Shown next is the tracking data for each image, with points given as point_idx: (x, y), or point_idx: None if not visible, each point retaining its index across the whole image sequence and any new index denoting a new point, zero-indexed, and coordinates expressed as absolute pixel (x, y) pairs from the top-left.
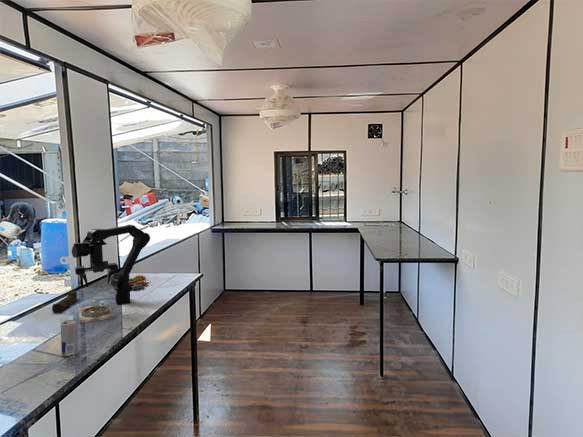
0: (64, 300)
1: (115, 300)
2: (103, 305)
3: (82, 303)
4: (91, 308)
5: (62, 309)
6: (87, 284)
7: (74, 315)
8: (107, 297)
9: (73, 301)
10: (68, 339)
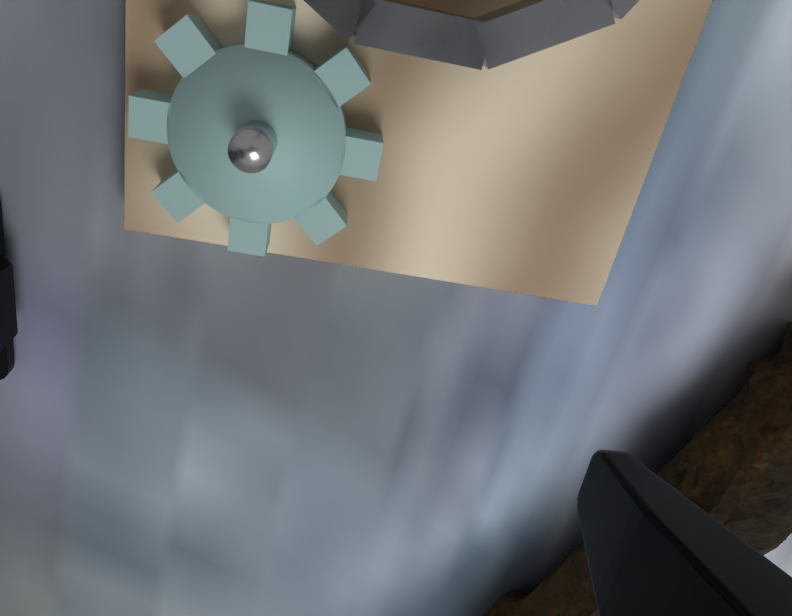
0: (736, 531)
1: (9, 335)
2: (246, 64)
3: (442, 522)
4: (488, 17)
5: (776, 360)
6: (650, 504)
7: (734, 51)
8: (119, 586)
9: (524, 598)
10: None
